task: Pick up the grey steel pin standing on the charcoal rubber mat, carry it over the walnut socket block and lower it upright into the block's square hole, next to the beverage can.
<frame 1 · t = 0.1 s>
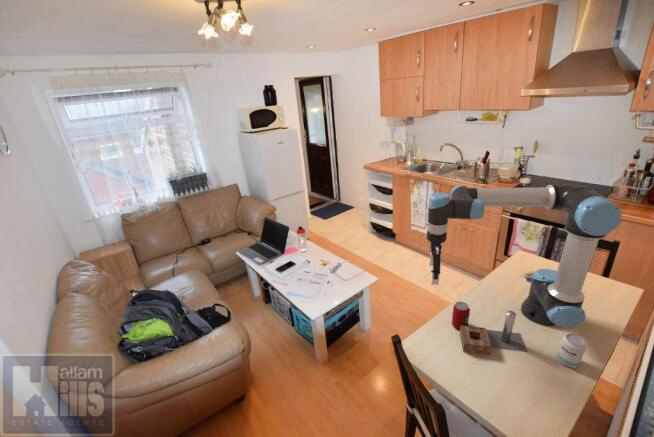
hand: (433, 274, 128), 28 cm above the table, fingers open, 13 cm apart
mat: (505, 340, 127), on the table
steel pin: (505, 340, 127), resting on mat
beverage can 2: (567, 362, 116), on the table
walnut socket block: (473, 344, 127), on the table
beverage can: (459, 326, 137), on the table
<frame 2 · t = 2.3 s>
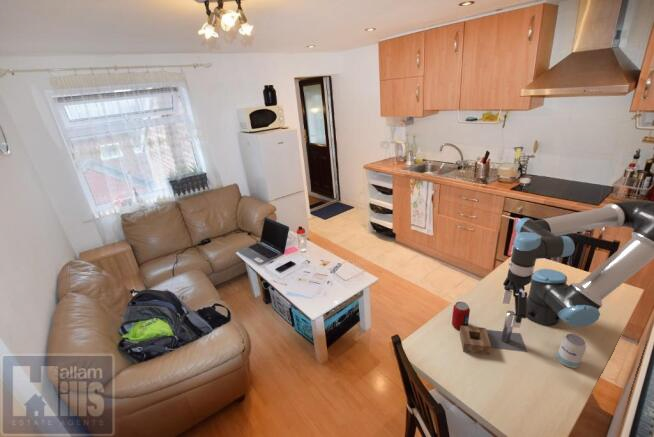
hand: (510, 314, 121), 15 cm above the table, fingers open, 13 cm apart
nothing on the table moved.
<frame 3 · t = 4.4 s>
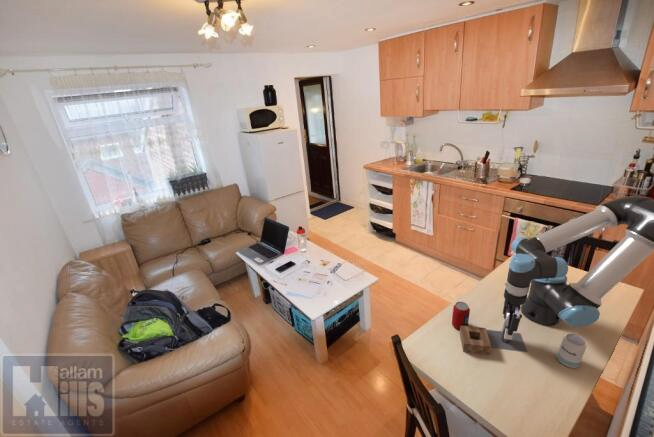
hand: (506, 335, 126), 3 cm above the table, fingers closed on steel pin, 3 cm apart
steel pin: (505, 340, 127), resting on mat, touching gripper
everything else where it was.
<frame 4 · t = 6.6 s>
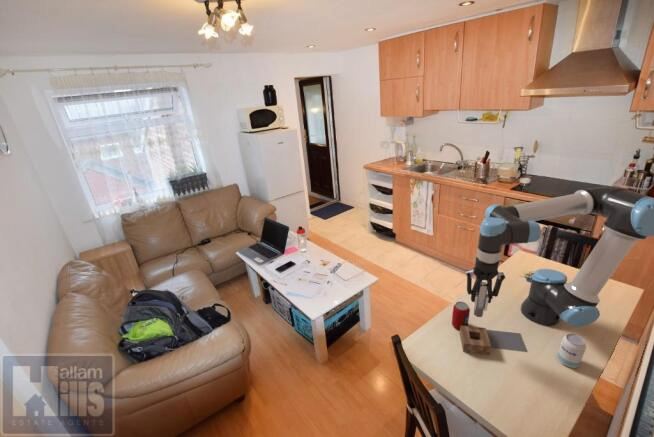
hand: (479, 307, 119), 20 cm above the table, fingers closed on steel pin, 3 cm apart
steel pin: (478, 314, 120), point 17 cm above the table, touching gripper
everything else where it was.
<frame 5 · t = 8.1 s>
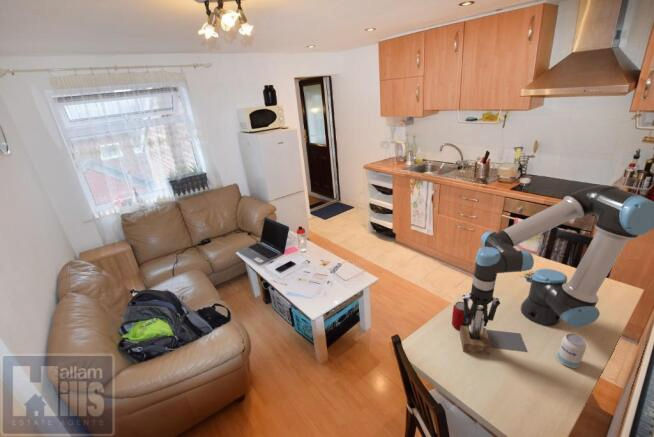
hand: (475, 330, 124), 8 cm above the table, fingers closed on steel pin, 3 cm apart
steel pin: (474, 336, 125), point 5 cm above the table, touching gripper
everything else where it was.
when the fingers open (6 cm above the table, at t = 9.0 s): steel pin drops 2 cm, resting in walnut socket block.
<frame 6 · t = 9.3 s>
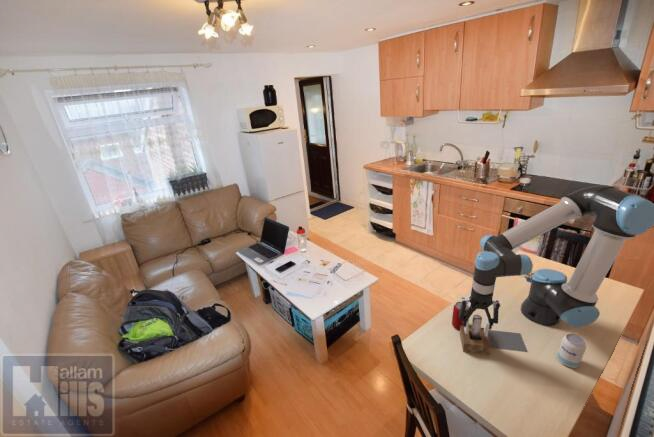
hand: (475, 332, 124), 7 cm above the table, fingers open, 7 cm apart
steel pin: (474, 344, 127), resting in walnut socket block
everything else where it was.
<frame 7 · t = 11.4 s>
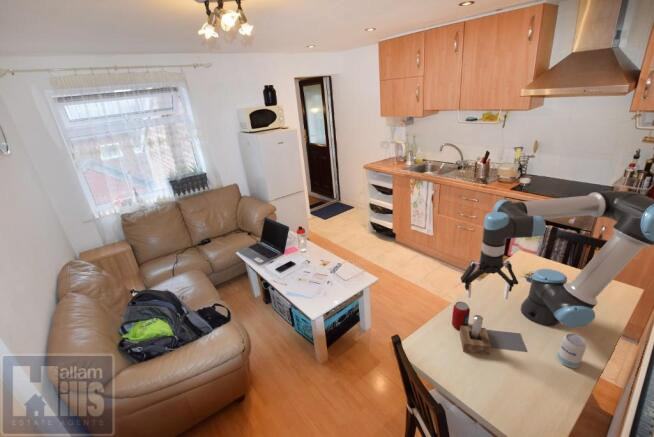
hand: (486, 296, 121), 23 cm above the table, fingers open, 13 cm apart
nothing on the table moved.
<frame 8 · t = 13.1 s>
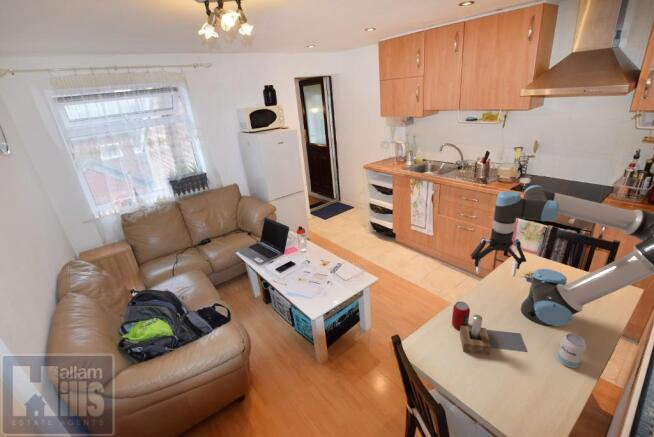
hand: (495, 273, 127), 27 cm above the table, fingers open, 13 cm apart
nothing on the table moved.
at the end: steel pin 0.1 cm off-centre on the walnut socket block, point 0.0 cm above the walnut socket block's base; steel pin tilted 1°; the gripper is holding nothing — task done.
